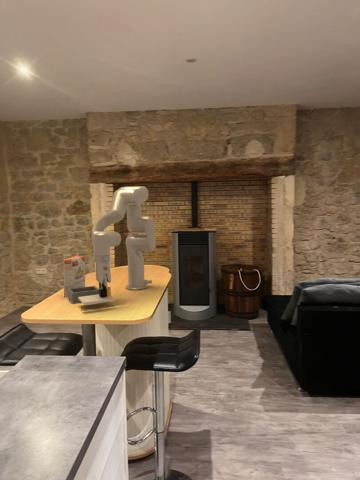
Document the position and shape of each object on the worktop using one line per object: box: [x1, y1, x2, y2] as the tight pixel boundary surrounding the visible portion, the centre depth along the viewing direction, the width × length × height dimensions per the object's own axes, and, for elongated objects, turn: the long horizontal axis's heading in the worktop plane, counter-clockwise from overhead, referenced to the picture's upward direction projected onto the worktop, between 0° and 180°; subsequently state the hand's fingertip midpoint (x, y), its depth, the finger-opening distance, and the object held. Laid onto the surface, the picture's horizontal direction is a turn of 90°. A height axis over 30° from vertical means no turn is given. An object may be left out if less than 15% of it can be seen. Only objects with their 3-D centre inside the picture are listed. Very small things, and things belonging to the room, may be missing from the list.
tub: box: [67, 285, 99, 305], centre depth 181 cm, size 14×11×6 cm
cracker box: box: [62, 255, 86, 298], centre depth 192 cm, size 14×6×21 cm, turn 168°
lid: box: [78, 286, 116, 306], centre depth 168 cm, size 15×12×6 cm
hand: (103, 296), depth 169 cm, fingers closed on lid, 1 cm apart
